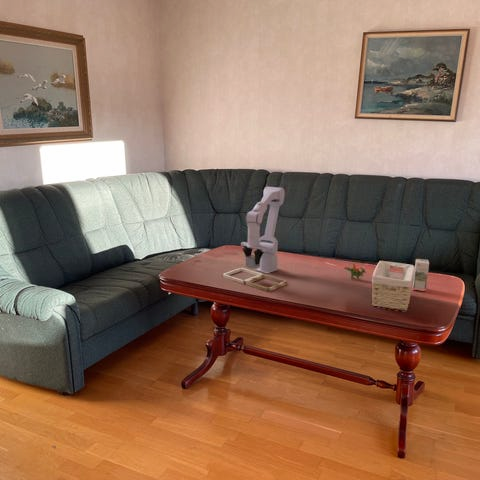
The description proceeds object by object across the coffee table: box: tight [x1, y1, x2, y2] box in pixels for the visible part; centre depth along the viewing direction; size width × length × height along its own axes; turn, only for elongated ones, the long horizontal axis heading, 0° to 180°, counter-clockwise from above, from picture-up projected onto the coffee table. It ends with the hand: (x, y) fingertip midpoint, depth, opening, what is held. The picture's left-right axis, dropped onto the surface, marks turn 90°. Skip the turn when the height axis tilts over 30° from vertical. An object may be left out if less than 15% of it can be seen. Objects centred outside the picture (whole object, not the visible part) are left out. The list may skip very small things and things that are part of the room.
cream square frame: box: [221, 267, 263, 285], centre depth 231 cm, size 15×15×2 cm
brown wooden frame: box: [244, 273, 288, 293], centre depth 221 cm, size 15×15×2 cm
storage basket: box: [371, 260, 415, 311], centre depth 201 cm, size 24×16×15 cm
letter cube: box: [245, 254, 260, 270], centre depth 224 cm, size 5×5×5 cm
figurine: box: [343, 263, 367, 280], centre depth 229 cm, size 3×12×8 cm, turn 55°
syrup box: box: [412, 258, 430, 290], centre depth 215 cm, size 6×6×14 cm
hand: (253, 262), depth 224 cm, fingers closed on letter cube, 5 cm apart
